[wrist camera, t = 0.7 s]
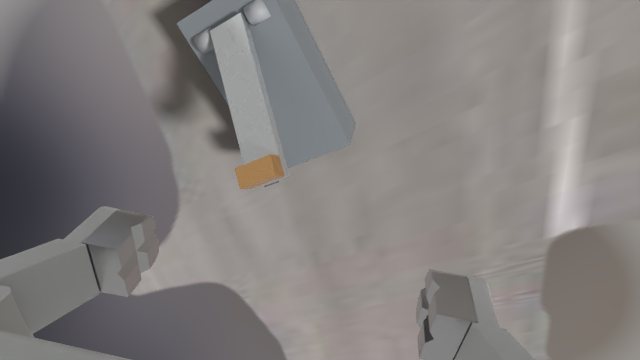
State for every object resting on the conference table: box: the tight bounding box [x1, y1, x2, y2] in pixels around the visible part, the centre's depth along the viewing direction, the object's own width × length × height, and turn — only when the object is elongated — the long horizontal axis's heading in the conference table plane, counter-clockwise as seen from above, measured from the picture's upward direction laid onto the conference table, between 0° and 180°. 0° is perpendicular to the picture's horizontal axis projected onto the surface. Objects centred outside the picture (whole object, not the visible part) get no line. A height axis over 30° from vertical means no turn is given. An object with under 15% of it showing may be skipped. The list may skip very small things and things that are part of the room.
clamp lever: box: [210, 12, 290, 189], centre depth 37 cm, size 4×17×3 cm
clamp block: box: [176, 0, 356, 187], centre depth 44 cm, size 11×20×9 cm, turn 28°
